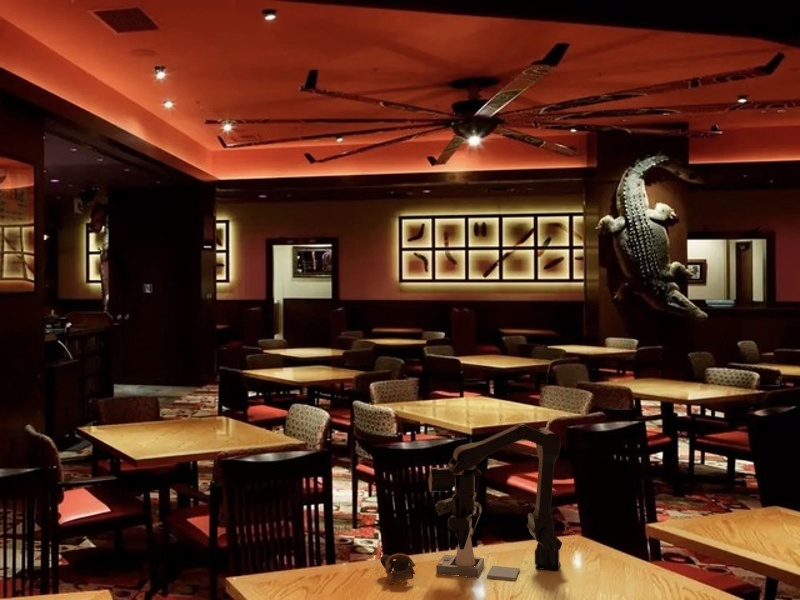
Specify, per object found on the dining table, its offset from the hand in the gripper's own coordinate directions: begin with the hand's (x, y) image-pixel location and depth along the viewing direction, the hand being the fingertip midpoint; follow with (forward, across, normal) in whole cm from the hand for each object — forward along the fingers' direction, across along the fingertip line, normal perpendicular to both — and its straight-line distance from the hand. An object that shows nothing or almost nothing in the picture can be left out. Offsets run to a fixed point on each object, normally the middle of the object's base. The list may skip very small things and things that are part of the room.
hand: (465, 544), depth 229 cm
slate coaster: (+8, 0, +11) cm, 13 cm away
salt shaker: (+8, 0, 0) cm, 8 cm away
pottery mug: (+8, +12, -17) cm, 22 cm away
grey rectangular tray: (+8, 0, -2) cm, 8 cm away
